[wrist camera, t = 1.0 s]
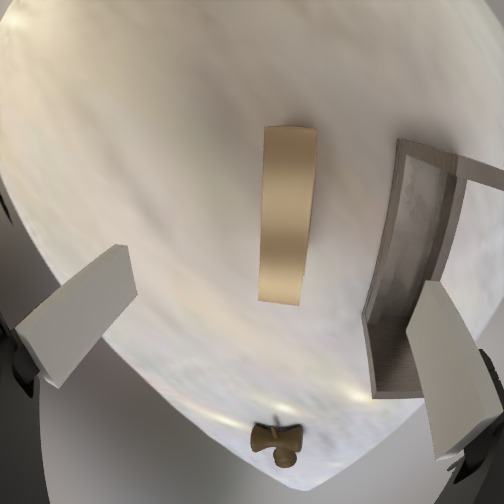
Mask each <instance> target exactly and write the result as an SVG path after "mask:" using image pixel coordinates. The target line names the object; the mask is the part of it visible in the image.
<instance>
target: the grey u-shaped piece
mask: <svg viewBox="0 0 504 504" xmlns="http://www.w3.org/2000/svg"><path fill="white" fill-rule="evenodd" d="M467 179H468V180H471V181H475V182H478V183H481V184H484V185H488V186H491V187H494V188H497V189H500V190H503V191H504V170H501V169H499V168H496V167H493V166H491V165H488V164H485V163H483V162H480V161H477V160H474V159H471V158H468V157H465V156H462V155H459V154H456V153H452V152H449V151H445V150H442V149H438V148H434V147H431V146H427V145H423V144H419V143H414V142H410V141H405V140H401V139H398V141H397V151H396V160H395V168H394V175H393V182H392V189H391V195H390V201H389V207H388V212H387V218H386V223H385V228H384V232H383V237H382V242H381V246H380V251H379V255H378V259H377V263H376V267H375V271H374V275H373V278H372V282H371V286H370V289H369V293H368V296H367V300H366V303H365V306H364V310H363V313H362V316H361V317H362V323H363V329H364V336H365V342H366V349H367V357H368V364H369V373H370V382H371V391H372V399H407V398H424V395H423V391H422V386H421V382H420V379H419V375H418V371H417V367H416V364H415V360H414V357H413V353H412V350H411V346H410V343H409V340H408V337H407V334H406V329H407V327H408V325H409V322H410V320H411V317H412V315H413V313H414V310H415V308H416V305H417V303H418V300H419V297H420V295H421V292H422V289H423V286H424V284H425V281H426V280H427V281H437V282H440V279H441V276H442V274H443V271H444V268H445V265H446V262H447V259H448V256H449V253H450V249H451V246H452V243H453V239H454V236H455V232H456V228H457V224H458V221H459V217H460V212H461V208H462V203H463V199H464V194H465V189H466V183H467Z"/></svg>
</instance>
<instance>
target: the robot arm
mask: <svg viewBox="0 0 504 504" xmlns="http://www.w3.org/2000/svg"><path fill="white" fill-rule="evenodd" d="M137 295H138V294H137V290H136V286H135V281H134V276H133V272H132V267H131V262H130V257H129V251H128V246H126V245H118V244H115V245H113V246H112V247H111V248H109V249H108V250H107V251H105V252H104V253H103V254H101V255H100V256H99V257H97V258H96V259H95V260H94V261H92V262H91V263H90V264H88V265H87V266H86V267H85V268H83V269H82V270H81V271H79V272H78V273H77V274H76V275H74V276H73V277H72V278H71V279H70V280H68V281H67V282H66V283H65V284H63V285H62V286H61V287H60V288H59V289H58V290H56V291H55V292H54V293H53V294H51V295H49V296H48V297H47V298H46V299H45V300H44V301H42V302H41V304H39V305H38V306H37V307H36V308H35V310H32V311H31V312H30V313H29V314H28V315H27V316H26V317H24V318H23V319H22V320H21V321H20V322H19V323H18V324H17V325H16V326H15V327H14V328H13V329H12V330H9V328H8V326H7V324H6V322H5V320H4V318H3V316H2V314H1V312H0V504H50V501H49V497H48V492H47V487H46V481H45V476H44V468H43V461H42V451H41V440H40V420H39V391H40V380H39V377H38V376H37V374H38V373H39V372H41V373H42V375H43V376H44V377H45V379H46V381H47V382H49V383H50V384H52V385H53V386H55V387H57V388H58V389H59V388H60V387H61V385H62V384H63V382H64V381H65V380H66V379H67V377H68V376H69V375H70V374H71V372H72V371H73V370H74V369H75V367H76V366H77V365H78V364H79V363H80V361H81V360H82V359H83V358H84V356H85V355H86V354H87V353H88V351H89V350H90V349H91V348H92V347H93V346H94V344H95V343H96V342H97V341H98V340H99V338H100V337H101V336H102V335H103V334H104V333H105V331H106V330H107V329H108V328H109V327H110V326H111V324H112V323H113V322H114V321H115V320H116V319H117V318H118V316H119V315H120V314H121V313H122V312H123V311H124V310H125V308H126V307H127V306H128V305H129V304H130V303H131V302H132V301H133V299H134V298H135V297H136V296H137ZM406 334H407V337H408V340H409V343H410V346H411V350H412V353H413V357H414V360H415V364H416V367H417V371H418V375H419V379H420V382H421V386H422V391H423V395H424V399H425V404H426V408H427V413H428V418H429V423H430V429H431V434H432V440H433V447H434V454H435V460H436V461H437V460H442V459H446V458H450V457H454V456H455V455H456V454H457V453H459V452H460V451H461V450H462V449H464V454H465V455H464V456H463V457H462V458H460V459H459V460H458V461H456V462H455V463H454V464H452V465H451V466H450V467H449V468H448V469H447V471H450V470H452V469H453V468H454V467H456V468H455V470H454V471H453V472H452V475H451V477H450V479H449V481H448V482H447V484H446V486H445V487H444V489H443V491H442V492H441V494H440V495H439V497H438V499H437V500H436V502H435V503H434V504H504V389H503V386H502V384H501V381H500V380H499V377H498V375H497V372H496V371H495V368H494V366H493V364H492V361H491V359H490V358H489V357H488V355H487V354H486V353H485V352H484V351H483V350H482V349H478V348H477V346H476V344H475V342H474V340H473V338H472V336H471V334H470V332H469V330H468V328H467V327H466V325H465V323H464V321H463V319H462V317H461V316H460V314H459V312H458V310H457V309H456V307H455V305H454V304H453V302H452V300H451V298H450V297H449V295H448V294H447V292H446V290H445V289H444V287H443V286H442V284H441V282H437V281H427V280H426V281H425V284H424V286H423V289H422V292H421V295H420V297H419V300H418V303H417V305H416V308H415V310H414V313H413V315H412V317H411V320H410V322H409V325H408V327H407V329H406Z"/></svg>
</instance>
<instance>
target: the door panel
mask: <svg viewBox="0 0 504 504" xmlns="http://www.w3.org/2000/svg"><path fill="white" fill-rule="evenodd" d="M316 141H317V130H316V129H315V128H305V127H292V126H271V127H264V158H263V189H262V217H261V245H260V270H259V295H258V301H264V302H272V303H280V304H288V305H296V306H299V303H300V296H301V289H302V282H303V276H304V272H305V265H306V257H307V249H308V240H309V231H310V222H311V213H312V202H313V192H314V180H315V168H316V154H317V153H316Z"/></svg>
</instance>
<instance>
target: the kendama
mask: <svg viewBox="0 0 504 504" xmlns="http://www.w3.org/2000/svg"><path fill="white" fill-rule="evenodd" d="M302 441H303V433H302V428H301V426H297V427H295V428H293V429H290V430H288V431H283V432H277V431H276V429H275V427H274V426H271V431H269V430H266V429H265V428H263V427H261V426H259V425H255V426H254V427H253V429H252V433H251V442H250V443H251V448H252V451H253V452H258V451H261V450H263V449H265V448H268V447H276V449H275V450H274V452H273V457H274V459H275V463H276V465H277V466H279V467H281V468H289V467H292V466H293V465H294V464H295V463H296V460H297V456H296V454H295V452H300V451H301V448H302ZM294 451H295V452H294Z"/></svg>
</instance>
